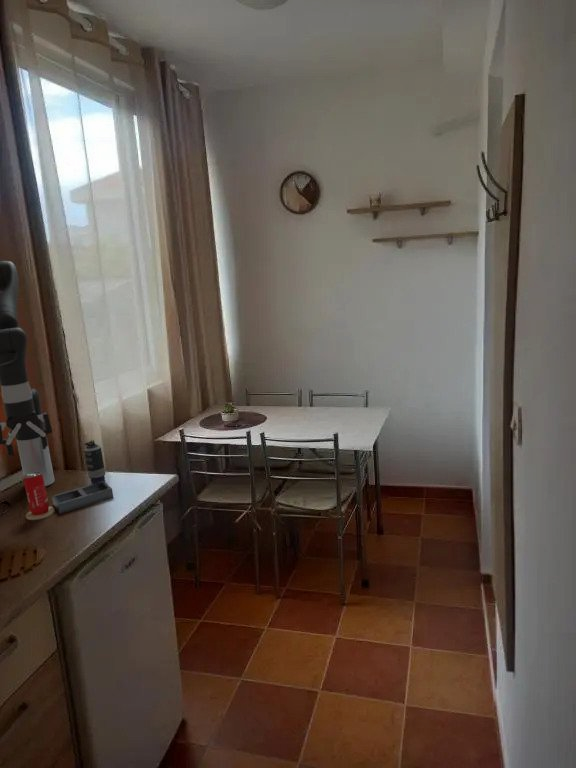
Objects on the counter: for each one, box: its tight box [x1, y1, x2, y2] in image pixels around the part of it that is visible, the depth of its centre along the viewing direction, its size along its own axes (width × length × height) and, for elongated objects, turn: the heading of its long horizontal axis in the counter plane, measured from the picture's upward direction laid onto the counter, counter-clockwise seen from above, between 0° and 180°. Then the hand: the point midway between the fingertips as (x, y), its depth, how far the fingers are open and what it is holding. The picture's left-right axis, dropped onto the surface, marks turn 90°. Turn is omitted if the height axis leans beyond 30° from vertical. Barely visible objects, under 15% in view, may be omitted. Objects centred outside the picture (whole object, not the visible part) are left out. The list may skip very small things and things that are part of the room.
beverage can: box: [23, 471, 50, 515], centre depth 160 cm, size 5×5×12 cm
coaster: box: [25, 505, 56, 521], centre depth 162 cm, size 8×8×1 cm
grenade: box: [79, 439, 106, 485], centre depth 182 cm, size 5×7×15 cm
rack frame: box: [51, 481, 114, 515], centre depth 168 cm, size 9×16×3 cm, turn 125°
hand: (28, 452), depth 158 cm, fingers open, 8 cm apart
